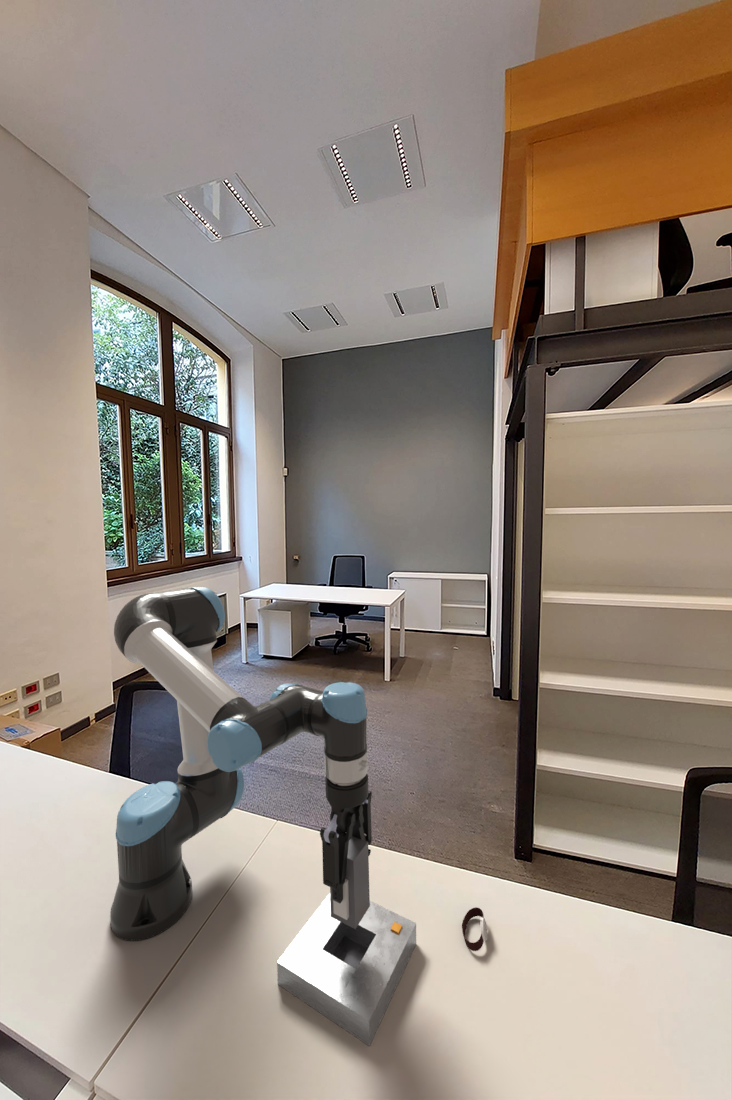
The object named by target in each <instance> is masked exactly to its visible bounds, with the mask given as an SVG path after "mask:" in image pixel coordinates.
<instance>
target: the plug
mask: <svg viewBox="0 0 732 1100" xmlns="http://www.w3.org/2000/svg"><path fill="white" fill-rule="evenodd" d="M368 849H369V845H368V841H365V840H363V839H358V838H356V837H353V836H352V838H351V839H350V840H349V845H348V855H347V865H346V876H345V879H347V880H348V892H349V918H348V919H347V920H346V919H344V918H342V917H340V916H338V915H336V914H334V908H333V899H332V888H331V887H329V890H330V891H329V893H330V899H331V917H333V918H335V919H337V920H339V921H340V922H342V923H344V924H346V925H348V926H350V927H352V928H354V929H356V927H357V926H358V924H359V923H360V921H361V919H362V918H363V916H364V915H365V913H366V911H367V910H368V908H369V907H370V901H371V900H370V899H371V898H370V868H369V867H370V866H369V865H370V862H369V859H370V858H369V857H370V856H368Z"/></svg>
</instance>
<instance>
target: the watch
mask: <svg viewBox="0 0 732 1100" xmlns="http://www.w3.org/2000/svg"><path fill="white" fill-rule="evenodd" d="M474 917H480V918H479V920H480V923H479V924H480V926H479V927H480V937H479V939H477V941H475V942H470V941H469V940H467V938H466V935H467V933H466V932H467V929H468V923H469V922H470V921H471V920H472V919H473V918H474ZM461 929H462V936H463V938H464V943H465V946H466V947H467V948H468V949H469V950H470V951H471V952H472V951H473V952H477V951H479V950H481V949H482V947H483V945H484V943H485V942H486V941H488V934H489V933H488V927H487V921H486V919H485V915H484V912H483V910H482V909H481V908H480V907H473V908H470V909H469V910H468V911H467V912H466V914H465V916H464V917H463V919H462V924H461Z"/></svg>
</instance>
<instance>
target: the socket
mask: <svg viewBox="0 0 732 1100" xmlns="http://www.w3.org/2000/svg"><path fill="white" fill-rule="evenodd" d="M416 946H417V923H416V922H414V921H413V920H410V919H409V918H406V917H405V916H403V915H400V914H398V913H396V912H394V911H393V910H390V909H388V908H386V907H383V906H381V905H379V904H377V903H375V902H373V901H371V900H370V907H369V908H368V910H367V911H366V913H365V915H364V916H363V918H362V919H361V921H360V923H359V924H358V926H357V927H356V929H354V928H352V927H350V926H348V925H346V924H344V923H342V922H340V921H339V920H337V919H335V918H333V917H331V899H330V892H329V893H328V894H327V895H326V896H325V898H324V899H323V901H321V903H320V905H319V906H318V908H316V910H315V911H314V913H313V914H312V915H311V917H309V919H308V921H307V922H306V923H305V924H304V926H303V927H302V928H301V929H300V931H299V933H298V934H296V936H295V938H294V939H293V940H292V941H291V943H290V944H289V945H288V946H287V948H286V949H285V951H284V953H282V955H281V956H280V957H279V959H278V960H277V962H276V969H277V970H276V971H277V972H276V973H277V974H276V975H277V985H278V986H280V987H281V988H282V989H284V990H286V991H288V992H289V993H290V994H292V995H293V996H295V997H296V998H298V1000H300V1001H302V1002H304V1003H305V1004H307V1005H308V1006H309V1007H310V1008H313V1009H314V1010H315V1011H316V1012H318V1013H319V1014H321V1015H322V1016H324V1017H326V1018H327V1019H329V1021H332V1022H333V1023H335V1024H336V1025H337V1026H339V1027H340V1028H342V1029H344V1030H345V1031H346V1032H348V1033H349V1034H351V1035H352V1036H354V1037H355V1038H357V1039H358V1040H359V1041H361V1042H363V1043H364V1044H365V1045H367V1046H369V1047H370V1046H371V1044H372V1041H373V1039H374V1037H375V1035H376V1033H377V1031H378V1029H379V1026H380V1024H381V1022H382V1020H383V1018H384V1015H385V1013H386V1011H387V1008H388V1007H389V1004H390V1002H391V1000H392V998H393V995H394V993H395V992H396V989H397V987H398V985H399V982H400V980H401V978H402V976H403V973H404V972H405V969H406V968H407V965H408V962H409V961H410V959H411V956H412V955H413V952H414V949H415V948H416Z"/></svg>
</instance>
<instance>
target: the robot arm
mask: <svg viewBox="0 0 732 1100" xmlns="http://www.w3.org/2000/svg"><path fill="white" fill-rule="evenodd" d="M225 619H226V614H225V608H224V606H223V602H222V601H221V599H220V597H219V596H218V595H217V594H216V593H215V592H214V591H213V590H212V589H211V588H208V587H205V586H191V587H190V586H188V587H184V588H179V589H178V588H177V589H172V590H165V591H157V592H149V593H142V594H140V595H137V596H136V597H134V598H132V599H131V600H129V601H128V602H127V603H126V604H125V605H123V607H122V608H121V610H120V611H119V613H118V615H117V616H116V619H115V622H114V628H113V636H114V637H113V638H114V642H115V644H116V646H117V648H118V650H119V651H120V653H121V654H122V655H123V656H124V657H125V658H126V659H127V661H130V662H131V663H133V664H139V665H141V666H142V667H143V668H144V669H145V670H146V671H147V672H148V673H149V674H151V676H152V677H153V678H154V679H155V680H156V681H157V682H158V683H159V684H160V685H161V686H162V687H163V688H165V690H166V691H167V692H168V693H169V694H170V696H172V697H173V698H174V699H175V700H176V704H177V706H176V707H177V713H178V723H179V731H180V740H181V742H180V743H181V747H182V761H181V763H179V765H178V767H177V770H176V771H177V782H173V781H169V780H163V781H158V782H157V783H150V784H148V785H144V786H143V787H141V788H139V789H138V790H136V791H135V792H133V793H132V794H131V795H129V797H128V798H126V800H125V801H124V802H123V804H122V805H120V808H119V811H118V813H117V816H116V817H117V818H116V829H115V839H116V846H117V847H116V848H117V865H118V883H117V886H116V890H115V894H114V899H113V901H112V904H111V907H110V915H109V917H110V919H109V920H110V928H111V930H112V932H113V934H114V935H115V936H116V937H117V938H119V939H121V940H124V941H142V940H146V939H148V938H149V939H150V938H152V937H154V936H157V935H159V934H161V933H163V932H164V931H166V930H168V929H169V928H170V927H172V926H173V925H174V924H176V923H177V921H179V920H180V919H181V918H182V916H184V914H185V913H186V911H187V910H188V908H189V906H190V904H191V902H192V899H193V882H192V877H191V876H190V873H189V871H188V868H187V867H186V864H185V862H184V860H183V853H182V852H183V850H182V847H183V846H182V845H183V844H184V843H186V842H187V841H189V840H190V839H192V838H193V837H195V836H196V835H198V834H199V833H201V832H202V831H204V830H205V829H206V828H208V827H210V826H211V825H212V824H214V823H216V821H219V820H221V819H223V818H225V817H226V816H227V815H228V814H229V813H230V812H231V811H232V810H234V809H235V808H236V807H237V806H238V804H239V803H240V802H241V800H242V799H243V796H244V792H245V777H244V773H243V772H244V771H243V770H242V768H243V767H245V766H248V765H251V764H252V763H254V762H256V761H257V760H258V759H259V758H260V757H262V756H264V755H265V754H267V753H268V752H271V751H272V750H274V749H275V748H277V747H279V746H280V745H283V744H285V743H286V742H288V741H290V740H291V739H293V738H295V737H297V736H298V735H300V734H301V733H302V734H303V733H306V734H310V735H314V736H317V737H321V738H322V739H323V748H324V749H323V750H324V751H323V753H324V756H323V757H324V775H325V777H324V781H325V783H324V785H325V798H326V800H327V802H328V803H329V805H330V808H331V809H330V814H329V820H330V822H329V824H328V825H327V827H323V826H322V827H321V828H320V831H319V835H320V838H321V842H322V844H321V846H322V847H321V848H322V883H323V885H325V886H327V887H329V888H330V887H331V888H332V899H333V908H334V914H336V915H338V916H340V917H342V918H344V919H346V920H347V919H348V918H349V892H348V880H347V879H345V876H346V865H347V855H348V845H349V840H350V839H351V838H352V836H353V837H356V838H358V839H363V840H365V841H368V846H371V844H372V842H373V841H372V839H373V837H372V835H373V834H372V812H371V811H372V808H371V807H372V796H373V792H372V791H371V790H369V774H368V771H369V769H368V767H369V761H368V743H367V740H368V738H367V735H368V734H367V730H368V729H367V726H368V725H367V724H368V723H367V722H368V720H367V719H368V717H367V716H368V708H367V702H366V693H365V692H366V691H365V689H364V688H363V687H362V686H361V685H360V684H359V683H355V682H350V681H349V682H344V681H339V682H334V683H331V684H329V685H328V686H326V687H324V689H323V690H320V689H317V688H316V689H315V688H312V687H309V686H305V685H304V684H298V683H295V684H294V683H282V684H281V685H278V686H277V688H276V689H275V690H274V691H273V692H272V693H271V695H270V698H269V700H268V701H265V702H263V703H260V704H258V705H256V706H255V705H254V704H252V703H251V702H250V701H248V700H247V699H246V698H245V697H243V695H241V694H240V693H239V692H238V691H237V690H236V689H234V688H233V687H232V686H231V685H230V684H229V683H228V682H227V681H226V680H224V679H223V678H222V677H221V676H220V675H219V674H218V673H216V672H215V671H214V665H213V664H214V663H213V655H212V650H213V649H212V648H213V647H214V646H215V644H216V643H217V642H218V639H217V637H218V636H217V632H219V631H220V630H221V629H222V628H223V627H224V623H225ZM371 851H372V850H371V849H369V848H368V857H370V855H371Z"/></svg>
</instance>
